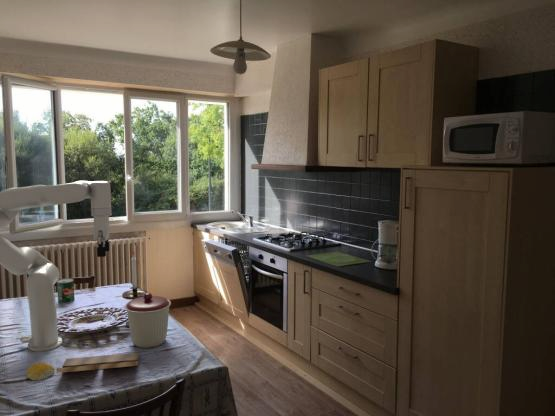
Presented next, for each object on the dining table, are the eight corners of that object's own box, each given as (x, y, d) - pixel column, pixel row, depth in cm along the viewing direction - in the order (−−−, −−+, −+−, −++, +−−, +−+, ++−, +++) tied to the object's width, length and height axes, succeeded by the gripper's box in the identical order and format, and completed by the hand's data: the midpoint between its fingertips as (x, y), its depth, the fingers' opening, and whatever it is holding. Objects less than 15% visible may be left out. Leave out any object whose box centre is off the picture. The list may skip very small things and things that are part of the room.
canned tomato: (63, 298, 247) (62, 278, 245) (77, 298, 246) (76, 278, 244) (54, 303, 239) (53, 282, 237) (69, 303, 238) (67, 283, 236)
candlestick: (125, 330, 204) (121, 252, 200) (122, 321, 214) (119, 247, 209) (150, 326, 209) (147, 249, 204) (146, 318, 219) (144, 245, 214)
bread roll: (43, 367, 171) (43, 357, 170) (58, 374, 166) (57, 363, 165) (21, 376, 164) (20, 366, 163) (35, 383, 159) (34, 372, 158)
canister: (160, 354, 181) (159, 301, 178) (117, 350, 184) (115, 299, 182) (178, 335, 199) (177, 287, 196) (139, 332, 202) (137, 285, 199)
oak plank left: (56, 372, 157) (56, 368, 157) (63, 372, 166) (63, 367, 167) (94, 369, 159) (94, 364, 160) (99, 368, 169) (99, 364, 169)
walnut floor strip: (62, 371, 167) (62, 366, 167) (66, 363, 173) (66, 358, 173) (138, 364, 173) (137, 359, 172) (139, 357, 178) (139, 352, 178)
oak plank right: (98, 369, 160) (99, 364, 160) (103, 368, 169) (103, 364, 170) (135, 365, 162) (135, 361, 163) (137, 365, 172) (137, 361, 172)
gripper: (95, 209, 194) (97, 249, 196) (87, 215, 177) (89, 259, 180) (114, 208, 196) (115, 248, 198) (108, 214, 179) (110, 258, 181)
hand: (103, 253), depth 189 cm, fingers open, 9 cm apart
